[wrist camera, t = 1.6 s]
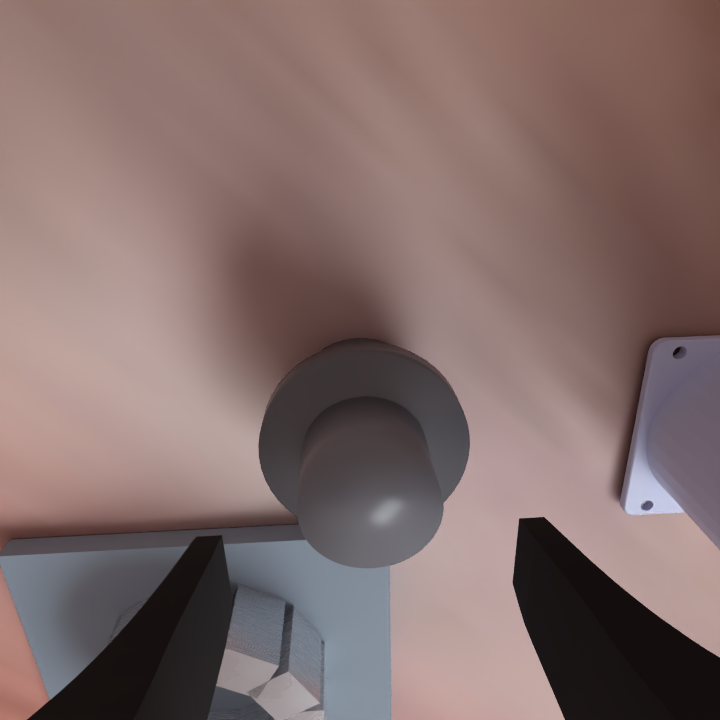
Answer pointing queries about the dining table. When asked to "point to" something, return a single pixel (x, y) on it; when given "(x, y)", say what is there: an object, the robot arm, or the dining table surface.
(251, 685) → the segmented white ring
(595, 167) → the dining table surface
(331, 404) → the grey rounded knob
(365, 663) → the mount plate
